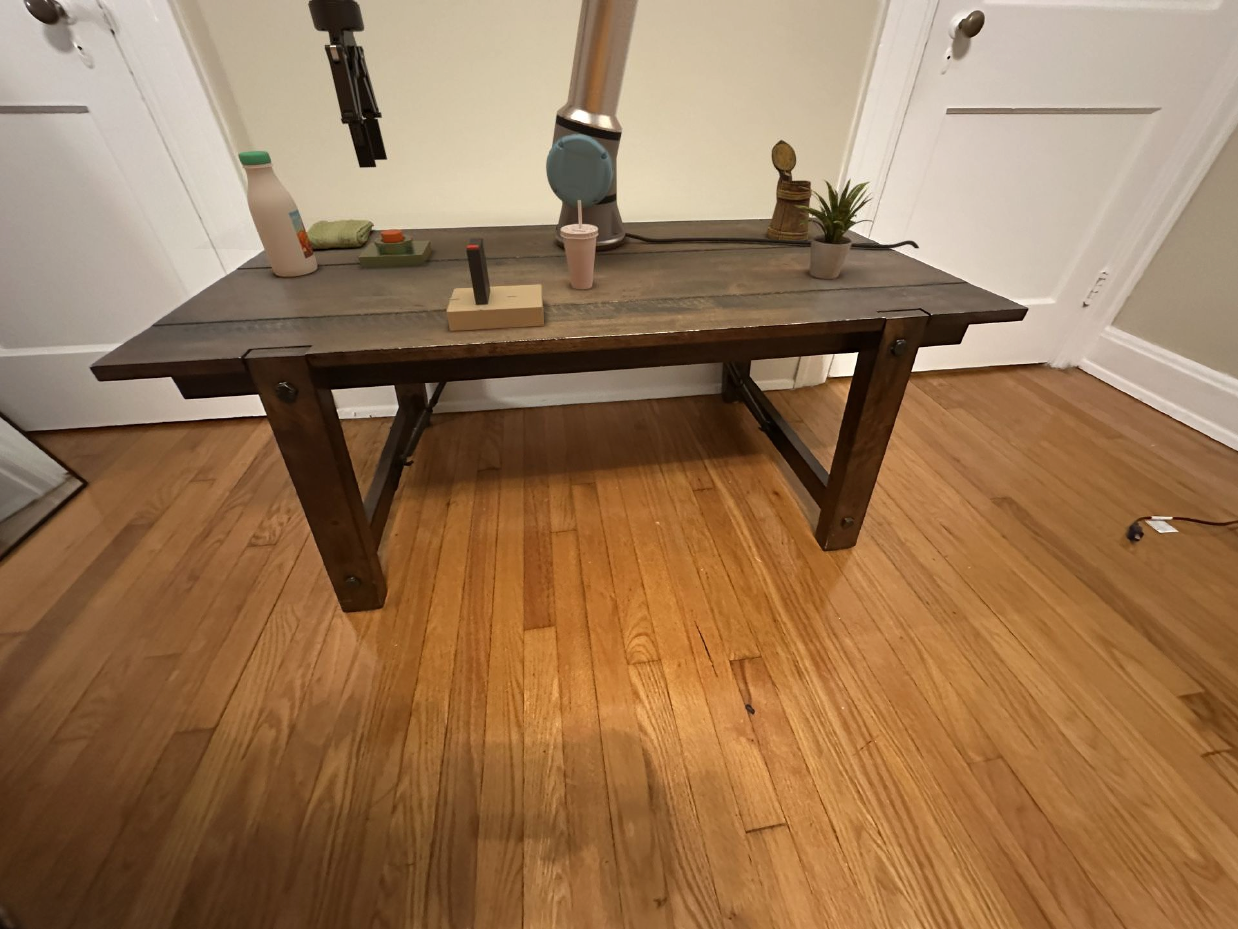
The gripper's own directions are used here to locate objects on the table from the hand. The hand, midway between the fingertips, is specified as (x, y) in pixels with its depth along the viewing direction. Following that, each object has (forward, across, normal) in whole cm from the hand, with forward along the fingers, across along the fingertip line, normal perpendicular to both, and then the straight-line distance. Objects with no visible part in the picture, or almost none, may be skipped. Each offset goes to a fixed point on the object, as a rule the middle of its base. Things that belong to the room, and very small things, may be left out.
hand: (373, 163), depth 98 cm
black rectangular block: (+14, +33, +20) cm, 41 cm away
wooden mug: (+17, -7, +84) cm, 86 cm away
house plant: (+17, +20, +82) cm, 86 cm away
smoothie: (+17, +21, +36) cm, 45 cm away
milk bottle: (+17, +5, -18) cm, 26 cm away
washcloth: (+17, -17, -16) cm, 29 cm away
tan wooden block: (+17, +33, +22) cm, 43 cm away
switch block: (+17, 0, 0) cm, 17 cm away
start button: (+14, 0, 0) cm, 14 cm away
